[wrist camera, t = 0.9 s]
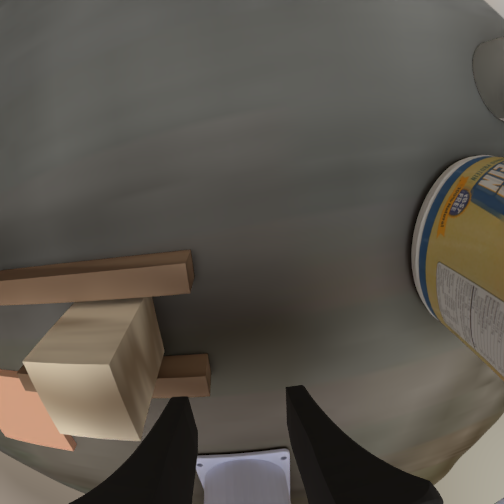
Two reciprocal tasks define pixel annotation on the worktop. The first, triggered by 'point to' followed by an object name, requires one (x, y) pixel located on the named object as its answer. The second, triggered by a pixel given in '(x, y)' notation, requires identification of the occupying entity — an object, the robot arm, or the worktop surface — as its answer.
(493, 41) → the air filter
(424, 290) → the supplement tub
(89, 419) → the birch block
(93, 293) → the slot rack
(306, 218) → the worktop surface
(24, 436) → the terracotta tile
